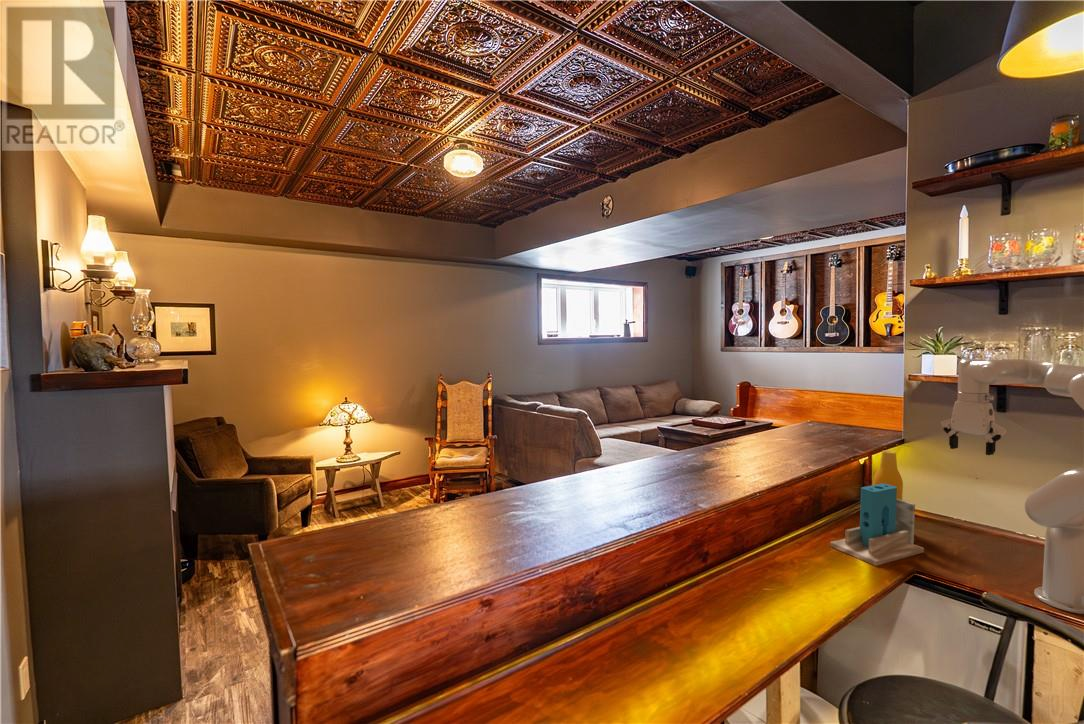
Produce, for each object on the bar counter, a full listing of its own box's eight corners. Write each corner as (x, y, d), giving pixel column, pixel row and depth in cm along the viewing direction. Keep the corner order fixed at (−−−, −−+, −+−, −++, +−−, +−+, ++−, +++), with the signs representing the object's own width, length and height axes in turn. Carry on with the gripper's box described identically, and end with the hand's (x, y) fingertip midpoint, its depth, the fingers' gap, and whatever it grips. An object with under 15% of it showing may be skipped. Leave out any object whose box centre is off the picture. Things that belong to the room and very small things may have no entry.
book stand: (923, 552, 170) (925, 507, 169) (875, 565, 161) (877, 518, 160) (876, 534, 185) (877, 493, 184) (830, 546, 176) (831, 502, 175)
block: (881, 539, 177) (883, 483, 176) (896, 545, 173) (898, 487, 171) (857, 545, 173) (859, 487, 171) (872, 551, 168) (874, 492, 167)
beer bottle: (866, 525, 194) (868, 450, 192) (881, 521, 198) (883, 447, 196) (891, 534, 185) (894, 455, 183) (907, 529, 189) (909, 453, 187)
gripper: (1013, 400, 154) (1011, 455, 155) (948, 394, 170) (947, 445, 171) (999, 401, 151) (998, 458, 152) (935, 396, 167) (934, 447, 168)
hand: (971, 451), depth 162 cm, fingers open, 9 cm apart
